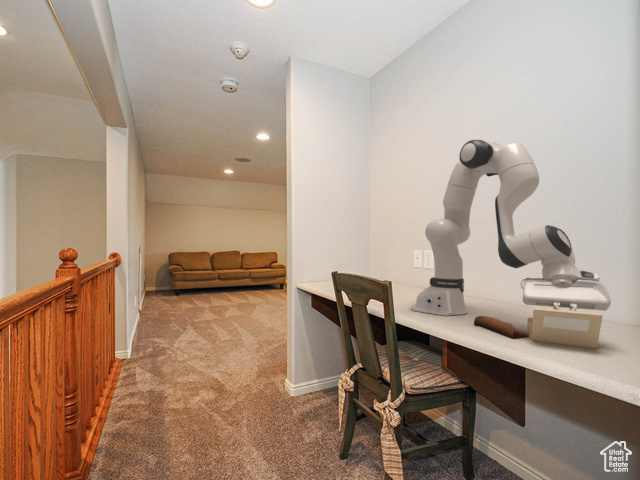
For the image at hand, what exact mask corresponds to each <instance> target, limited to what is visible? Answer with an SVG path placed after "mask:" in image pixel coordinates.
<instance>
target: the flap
mask: <svg viewBox="0 0 640 480" xmlns="http://www.w3.org/2000/svg"><path fill="white" fill-rule="evenodd" d="M532 309H533V310H532V318H533V323H532V339H531V341H534V342H535V341H537V342H543V343H545V342H546V343H551V344H559V345H565V346H566V345H567V346H575V347H583V348H590V349H598V347H597V345H598V346H599V339H600V333H601V328H602V322H603V317H604V316H603V313H601V312H600V313H599V312H588V311H577V310H576V311H571V310H564V309H561V310H555V309H553V308H544V307H543V308H541V307H533V308H532Z"/></svg>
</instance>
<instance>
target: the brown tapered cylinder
mask: <svg viewBox="0 0 640 480" xmlns="http://www.w3.org/2000/svg"><path fill="white" fill-rule="evenodd" d="M473 324H474V326H478V327H483V328H487V329H488V330H491V331H494V332H497V333H499V334H501V335H504V336H507V337H509V338H511V339H513V340H516V339H530V338H529V334H528V332H525V331H523V330H521V329H519V328H516V327H515V326H514V325H513V324H512V323H509V322H506V321H503V320H500V319H497V318H495V317H491V316H485V315H479V316H476V317H475V318H474V320H473Z"/></svg>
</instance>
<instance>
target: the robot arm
mask: <svg viewBox="0 0 640 480" xmlns="http://www.w3.org/2000/svg"><path fill="white" fill-rule="evenodd" d="M458 158H459V161H458V162H457V163H456V164H455V165H454V168H453V170H452V172H451V174H450V177H449V180H448V183H447V186H446V190H445V194H444V196H443V200H442V204H443V209H444V214H443V215H444V218H438V219H434V220H432V221H430V222H429V223H428V224H427V225H426V227H425V231H424V233H425V234H424V235H425V237H426V240H428V242H429V243H430V246H431V250H432V254H433V260H434V261H433V262H434V276H432V277H431V278H430V279H429V286H428V287H426V288H425V289H424V290H422V291H421V292H420V293H418V294H417V296H416V300H415V303H414V304H412V305H410V311H413V312H419V313H426V314H433V315H439V316H458V315H466V314H467V313H468V310H467V308H466V303H465V298H464V291H465V279H464V277H463V276H464V275H463V274H464V273H463V272H464V271H463V267H464V266H463V265H464V264H463V258H462V257H461V255H460V251H459V247H458V245H461V244H463V243H465V242H467V241H468V240H469V238H470V237H471V229H470V216H471V209H472V205H473V201H474V198H475V196H476V195H475V194H476V191H477V188H478V184H479V182H480V179H481V177H483V176H484V175H486V177H493V176H498V177H499V181H500V188H499V192H498V194H497V195H496V197H495V199H494V208H495V219H496V220H495V221H496V229H497V239H498V243H497V251H498V256H499V259H500V261H501V262H502V264H504V265H505V266H508V267H511V268H513V269H519V268H523V267H525V266H528V265H529V264H532V263H535V262H540V263H541V265H542V269H541V271H542V273H541V274H542V278H539V277H536V278H535V277H534V278H533V277H532V278H531V277H526V278H524V279H522V280H521V281H520V287H521V289H523V291H522V302H523V303H524V305H526V306H527V305H528V306H539V307H551V308H552V309H555V310H562V308H563V309H564V308H565V309H566V308H567V309H569V311H577V309H579V310H591V311H592V310H593V311H603V312H604V311H607V310H609V308H610V307H611V304H612V303H611V297H610V295H609V292H608V289H607V288H606V286H605V285H604V284H603V283H602V282H601V281H600V275H599V274H598V273H596V272H592V271H587V270H584V269H579V268H577V266H576V265H575V264H576V258H575V254H574V251H573V247H572V242H571V241H570V238H569V237H568V235H567V234H566V233H565V231H563V230H562V229H561V228H559V227H557V226H554V225H550V224H547V225H542V226H540V227H537V228H534V229H531V230H529V231H526V232H524V233H522V234H518V235H515V227H514V219H513V215H514V212H515V211H516V209H517V208H518V207H519V206H520V205H521V204H522V203H523V202H525V201H526V200H527V199H529V197H530V196H532V195H533V193H535V191H536V190H537V189H538V186H539V183H540V176H539V175H540V174H539V172H538V169H537V166H536V164H535V161H534V160H533V158H532V156H531V154H530V152H529V151H528V150H527V148H526V147H525V146H524V145H523V144H522V143H518V142H511V143H508V144H505V145H501V144H498V143H496V142H491V141H485V140H483V139H471V140H468V141H467V142H465V143H464V144H463V145H462V147H461V149H460V152H459V157H458Z"/></svg>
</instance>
